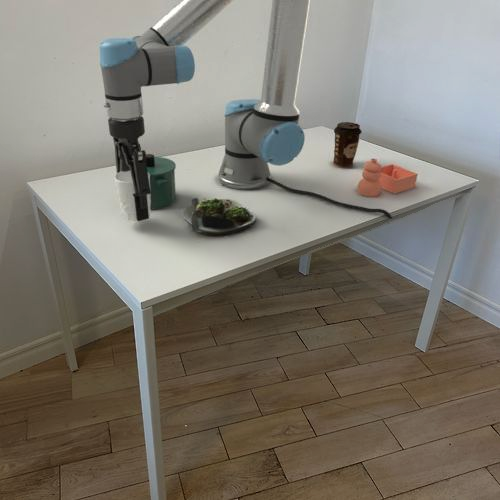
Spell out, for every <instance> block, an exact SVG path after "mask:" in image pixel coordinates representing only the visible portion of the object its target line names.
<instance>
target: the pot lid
mask: <svg viewBox="0 0 500 500" xmlns="http://www.w3.org/2000/svg"><path fill="white" fill-rule="evenodd" d="M132 161H133V160H132ZM146 165H147V172H148V173H149V174H150V177H157V176H162V175H166V174H169V173H171V172H173V171H174V172H175V170H176V169H177V168H176V167H177V165H176V163H175V161H174V160H172V159H169V158H166V157H162V156H155V154H152V153H146Z"/></svg>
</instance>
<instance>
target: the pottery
mask: <svg viewBox="0 0 500 500" xmlns="http://www.w3.org/2000/svg"><path fill="white" fill-rule="evenodd" d="M418 174H419V173H417V172H415V171H412V170H409V169H406V168H404V167H401V166H399V165H396V164H394V163H390V164H386V165H383V166H382V165H381V163H379V162H378V159H377V158H370V161H367V162H365V163H364V165H363V170H362V172H361V176H362V178H361V179H360V180H359V181H358V183H357V193H359V195H361V196H365V197H371V198H372V197H378V196H379V195H380V193H381V191H382V189H383V190H385V191H387V192H389V193H392V194H394V195H395V194H399V193H401V192H404V191H407V190H411V189H414V188H416V184H417V179H418Z"/></svg>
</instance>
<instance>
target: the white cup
mask: <svg viewBox="0 0 500 500" xmlns="http://www.w3.org/2000/svg"><path fill="white" fill-rule="evenodd" d="M148 178H149V185H150V174H149V173H148ZM114 182H115V183H114V184H115V188H116V194H117V198H118V204H119V207H120V213H121V217H122V219H124V220H126V221H130V222H138V221H137V217H136V208H135V199H134V197H133V194H135V189H134V185H133V180H132V176H131V172H130V171H127V172H122V171H121V172H119V173H117V172H116V174H115V175H114ZM147 203H148V213H149V217H150V216H151V214H152V209H151V206H150V204H151V194H148V195H147Z"/></svg>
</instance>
